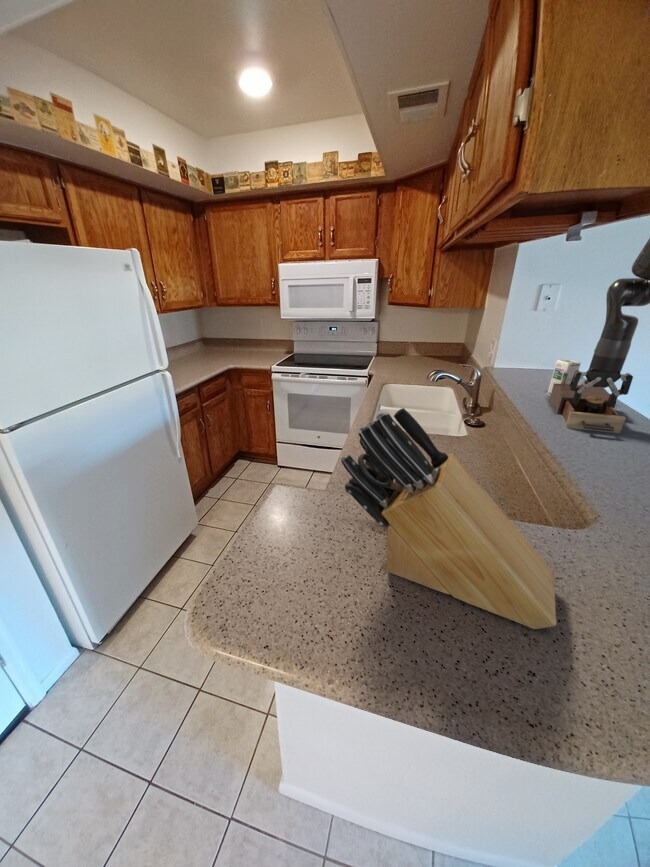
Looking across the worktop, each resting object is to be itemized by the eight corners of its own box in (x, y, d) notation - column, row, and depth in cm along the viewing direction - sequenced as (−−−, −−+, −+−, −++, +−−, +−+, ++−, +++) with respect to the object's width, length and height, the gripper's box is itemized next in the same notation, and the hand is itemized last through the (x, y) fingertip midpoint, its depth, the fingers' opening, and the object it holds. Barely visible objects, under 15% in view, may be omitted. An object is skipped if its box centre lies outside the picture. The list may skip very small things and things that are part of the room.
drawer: (623, 441, 96) (631, 423, 93) (568, 435, 100) (574, 418, 98) (604, 417, 110) (610, 401, 107) (557, 413, 115) (561, 397, 112)
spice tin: (594, 419, 106) (602, 396, 103) (598, 425, 103) (606, 401, 99) (578, 418, 108) (585, 395, 104) (581, 423, 104) (589, 400, 101)
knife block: (363, 520, 73) (363, 389, 59) (549, 582, 57) (609, 422, 43) (340, 555, 65) (334, 412, 51) (550, 640, 49) (627, 464, 34)
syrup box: (545, 395, 132) (555, 360, 126) (558, 393, 133) (568, 358, 127) (558, 400, 127) (568, 363, 121) (570, 398, 128) (581, 361, 122)
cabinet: (608, 423, 108) (616, 401, 105) (555, 418, 114) (562, 397, 110) (595, 406, 120) (602, 386, 117) (548, 402, 126) (553, 383, 122)
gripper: (584, 355, 95) (568, 406, 102) (646, 358, 90) (624, 411, 97) (577, 349, 101) (562, 398, 108) (635, 351, 96) (615, 402, 103)
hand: (592, 404), depth 103 cm, fingers open, 8 cm apart
